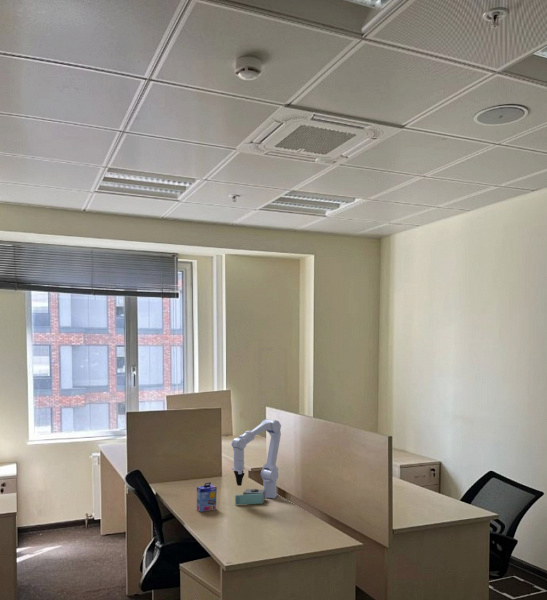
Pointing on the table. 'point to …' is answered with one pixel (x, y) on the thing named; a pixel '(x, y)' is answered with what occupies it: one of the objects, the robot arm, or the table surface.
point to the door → (249, 499)
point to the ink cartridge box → (206, 497)
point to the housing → (254, 492)
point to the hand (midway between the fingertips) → (239, 484)
